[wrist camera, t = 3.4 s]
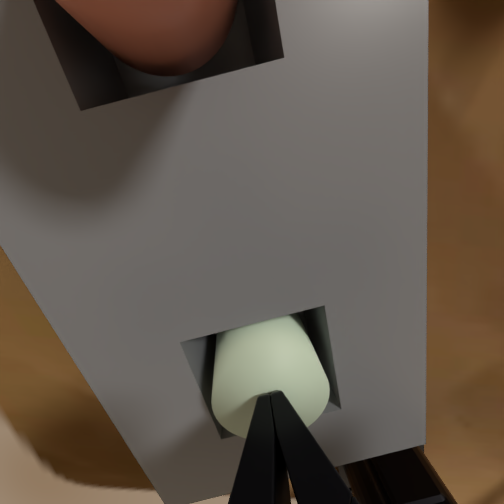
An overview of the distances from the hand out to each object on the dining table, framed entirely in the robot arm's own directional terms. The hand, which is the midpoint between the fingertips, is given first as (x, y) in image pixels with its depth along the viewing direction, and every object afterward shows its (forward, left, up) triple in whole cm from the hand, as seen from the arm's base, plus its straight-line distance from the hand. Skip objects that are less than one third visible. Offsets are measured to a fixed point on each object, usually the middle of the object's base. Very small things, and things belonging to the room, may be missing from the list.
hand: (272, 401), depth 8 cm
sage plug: (0, 0, -5) cm, 5 cm away
